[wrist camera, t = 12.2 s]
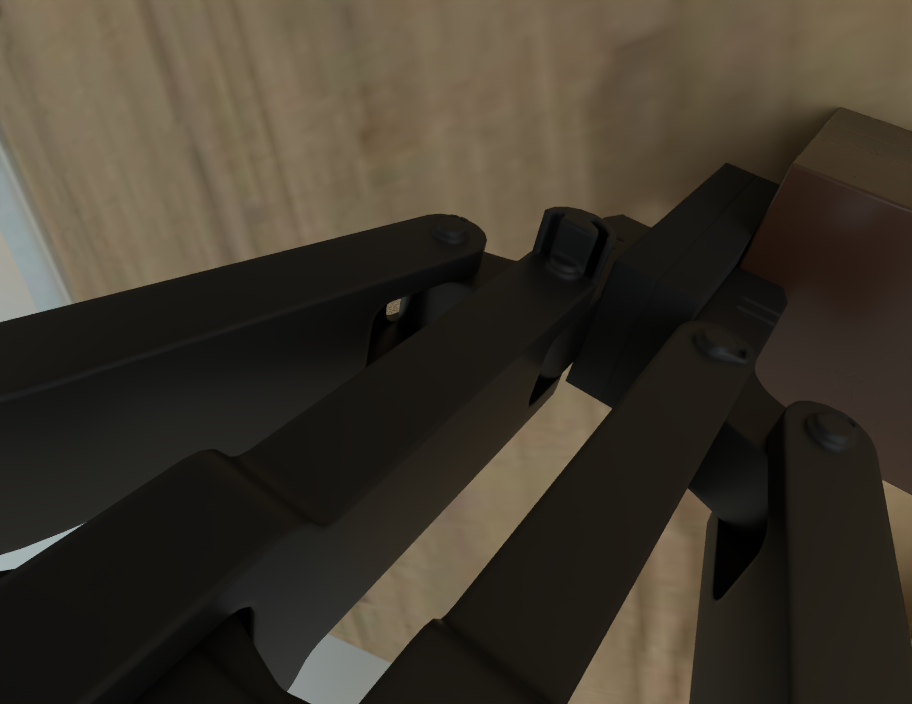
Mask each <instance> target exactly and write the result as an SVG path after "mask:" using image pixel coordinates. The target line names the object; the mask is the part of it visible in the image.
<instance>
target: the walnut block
mask: <svg viewBox="0 0 912 704" xmlns="http://www.w3.org/2000/svg"><path fill="white" fill-rule="evenodd" d="M738 267H739V268H741V269H744V270H746V271H748V272H750V273H752V274H754V275H756V276H758V277H761V278H763V279H765V280H767V281H769V282H771V283H773V284H775V285H777V286H780V287H782V288H783V289H784V292H785V295H786V299H787V302H788V304H787V306H786V308H785V310H784V312H783V313H782V315H781V317H780V319H779V321H778V322H777V324H776V326H775V328H774V330H773V331H772V333H771V335H770V337H769V339H768V340H767V342H766V344H765V346H764V348H763V349H762V351H761V353H760V355H759V357H758V358H757V360H756V364H755V371H756V375H757V377H758V379H759V381H760V383H761V384H762V386H763V387H764V388H765V389H766V390H767V392H768V393H769V394H771V395H772V396H773V397H774V398H775V399H776V400H777V401H778V402H780V403H781V404H782V405H784V406H785V407H786V408H787V406H788V405H790V404H792V403H794V402H796V401H814V402H817V403H821V404H825V405H828V406H830V407H832V408H834V409H836V410H839V411H841V412H843V413H845V414H846V415H848V416H849V417H850V418H852V419H853V420H854V421H856V422H857V423H858V424H859V425H860V426H861V427H862V428H863V429H864V431H865V432H866V433H867V434H868V435H869V436H870V437H871V439H872V441H873V444H874V446H875V448H876V450H877V456H878V461H879V467H880V472H881V478H882V480H884V481H886V482H888V483H890V484H892V485H894V486H895V487H897V488H899V489H901V490H903V491H905V492H907V493H909V494H911V495H912V132H911V131H908V130H905V129H902V128H899V127H896V126H894V125H891V124H888V123H885V122H882V121H879V120H876V119H873V118H871V117H868V116H865V115H862V114H859V113H856V112H853V111H850V110H847V109H845V108H839V109H838V110H837V111H836V112H835V114H834V115H833V116H832V117H831V118H830V119H829V121H828V122H827V123H826V124H825V125H824V126H823V128H822V129H821V130H820V131H819V132H818V134H817V135H816V136H815V137H814V138H813V139H812V141H811V142H810V143H809V144H808V145H807V146H806V148H805V149H804V150H803V151H802V152H801V154H800V155H799V156H798V157H797V158H796V159H795V161H794V162H793V163H792V164H791V165H790V167H789V169H788V171H787V173H786V175H785V177H784V179H783V181H782V183H781V185H780V187H779V188H778V190H777V192H776V194H775V196H774V198H773V200H772V202H771V204H770V206H769V208H768V210H767V211H766V213H765V215H764V217H763V219H762V221H761V223H760V225H759V227H758V229H757V231H756V233H755V235H754V236H753V238H752V240H751V242H750V244H749V246H748V248H747V250H746V252H745V254H744V256H743V258H742V260H741V261H740V263H739V265H738Z"/></svg>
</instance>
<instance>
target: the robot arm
mask: <svg viewBox="0 0 912 704" xmlns="http://www.w3.org/2000/svg"><path fill="white" fill-rule="evenodd" d="M779 187H780V185H779V184H776V183H774V182H772V181H769V180H767V179H764V178H762V177H760V176H757V175H755V174H753V173H750V172H748V171H745V170H743V169H741V168H738V167H736V166H733V165H731V164H729V163H726V164H725V165H723V166H722V167H721V168H720V169H719V170H718V171H716V172H715V173H714V174H713V175H712V176H711V177H710V178H708V179H707V180H706V181H705V182H704V183H703V184H702V185H700V186H699V187H698V188H697V189H696V190H695V191H694V192H692V193H691V194H690V195H689V196H688V197H687V198H686V199H684V200H683V201H682V202H681V203H680V204H679V205H677V206H676V207H675V208H674V209H673V210H672V211H671V212H669V213H668V214H667V215H666V216H665V217H664V218H663V219H661V220H660V221H659V222H658V223H657V224H656V225H655V226H653V227H652V228H650V227H648V226H646V225H644V224H642V223H640V222H638V221H635V220H633V219H631V218H629V217H627V216H625V215H623V214H622V215H617V216H611V217H605V218H603V219H601V218H600V217H598V216H596V215H595V214H592V213H589V212H587V211H584V210H581V209H576V208H571V207H553V208H550V209H547V210H545V212H544V215H543V218H542V222H541V225H540V228H539V231H538V234H537V238H536V241H535V244H534V247H533V250H532V251H531V252H530V253H529V254H527V255H526V256H524V257H523V258H521V259H520V260H519V261H514V260H510V259H506V258H503V257H499V256H496V255H493V254H490V253H487V252H484V250H485V246H486V242H487V239H486V236H485V233H484V232H483V231H482V230H481V229H480V228H479V227H478V226H477V225H476V224H474V223H472V222H470V221H468V220H467V219H465V218H463V217H459V216H457V215H452V214H451V215H446V214H432V215H426V216H422V217H418V218H414V219H410V220H406V221H402V222H398V223H394V224H390V225H386V226H382V227H378V228H374V229H370V230H366V231H362V232H358V233H354V234H350V235H346V236H342V237H338V238H334V239H330V240H326V241H322V242H318V243H314V244H310V245H306V246H302V247H298V248H294V249H290V250H286V251H282V252H278V253H274V254H270V255H266V256H262V257H258V258H254V259H250V260H246V261H242V262H238V263H234V264H230V265H226V266H222V267H219V268H215V269H211V270H207V271H203V272H199V273H195V274H191V275H187V276H183V277H179V278H175V279H171V280H167V281H163V282H159V283H155V284H151V285H147V286H143V287H139V288H135V289H131V290H127V291H123V292H119V293H115V294H111V295H107V296H103V297H99V298H95V299H91V300H87V301H83V302H79V303H75V304H71V305H67V306H63V307H59V308H55V309H51V310H47V311H43V312H39V313H35V314H31V315H28V316H24V317H20V318H15V319H11V320H8V321H3V322H0V555H2V554H5V553H8V552H12V551H15V550H18V549H21V548H24V547H26V546H29V545H32V544H34V543H37V542H39V541H42V540H44V539H47V538H50V537H52V536H55V535H57V534H60V533H62V532H65V531H67V530H69V529H72V528H74V527H76V526H78V525H80V524H83V523H84V524H83V525H81V526H80V527H78V528H77V529H76V530H74V531H72V532H71V533H69V534H68V535H66V536H65V537H63V538H62V539H60V540H59V541H57V542H55V543H54V544H52V545H51V546H49V547H48V548H46V549H45V550H43V551H42V552H40V553H39V554H37V555H36V556H34V557H33V558H31V559H30V560H28V561H27V562H25V563H24V564H22V565H20V566H19V567H17V568H16V569H11V570H5V571H0V704H310V703H308V702H306V701H304V700H302V699H300V698H298V697H296V696H293V695H291V694H290V693H288V692H287V691H288V689H289V688H290V686H291V685H292V683H293V682H294V680H295V678H296V677H297V675H298V673H299V671H300V669H301V667H302V666H303V664H304V662H305V660H306V659H307V657H308V656H309V654H310V653H311V652H312V650H313V649H314V648H315V647H316V645H317V644H318V643H319V642H320V641H321V640H322V639H323V638H324V637H325V636H326V635H327V633H328V632H329V631H330V630H331V629H332V628H333V627H334V626H335V625H336V624H337V623H338V622H339V621H340V620H341V619H342V618H343V616H344V615H345V614H346V613H347V612H348V611H349V610H350V609H351V608H352V607H353V606H354V605H355V604H356V603H357V602H358V601H359V600H360V598H361V597H362V596H363V595H364V594H365V593H366V592H367V591H368V590H369V589H370V588H371V587H372V586H373V585H374V584H375V583H376V581H377V580H378V579H379V578H380V577H381V576H382V575H383V574H384V573H385V572H386V571H387V570H388V569H389V568H390V567H391V566H392V565H393V563H394V562H395V561H396V560H397V559H398V558H399V557H400V556H401V555H402V554H403V553H404V552H405V551H406V550H407V549H408V548H409V546H410V545H411V544H412V543H413V542H414V541H415V540H416V539H417V538H418V537H419V536H420V535H421V534H422V533H423V532H424V531H425V529H426V528H427V527H428V526H429V525H430V524H431V523H432V522H433V521H434V520H435V519H436V518H437V517H438V516H439V515H440V514H441V513H442V511H443V510H444V509H445V508H446V507H447V506H448V505H449V504H450V503H451V502H452V501H453V500H454V499H455V498H456V497H457V496H458V494H459V493H460V492H461V491H462V490H463V489H464V488H465V487H466V486H467V485H468V484H469V483H470V482H471V481H472V480H473V479H474V477H475V476H476V475H477V474H478V473H479V472H480V471H481V470H482V469H483V468H484V467H485V466H486V465H487V464H488V463H489V462H490V461H491V459H492V458H493V457H494V456H495V455H496V454H497V453H498V452H499V451H500V450H501V449H502V448H503V447H504V446H505V445H506V444H507V442H508V441H509V440H510V439H511V438H512V437H513V436H514V435H515V434H516V433H517V432H518V431H519V430H520V429H521V428H522V427H523V425H524V424H525V423H526V422H527V421H528V420H529V419H530V418H531V417H532V416H533V415H534V414H535V413H536V412H537V411H538V410H539V409H540V407H541V406H542V405H543V404H544V403H545V402H546V401H547V400H548V399H549V398H550V397H551V396H552V395H553V393H554V391H555V389H556V387H557V385H558V382H559V380H560V377H561V375H562V373H563V372H564V371H565V370H566V369H567V368H568V367H569V365H570V364H571V363H572V362H573V361H574V362H573V364H572V366H571V369H570V371H569V374H568V376H567V379H566V381H567V382H568V383H570V384H572V385H573V386H575V387H577V388H579V389H580V390H582V391H584V392H585V393H587V394H589V395H591V396H592V397H594V398H596V399H597V400H599V401H601V402H602V403H604V404H606V405H608V406H609V407H611V408H613V409H612V410H611V411H610V412H609V414H608V415H607V416H606V417H605V419H604V420H603V421H602V422H601V424H600V425H599V426H598V427H597V429H596V430H595V431H594V432H593V434H592V435H591V436H590V437H589V439H588V440H587V441H586V442H585V443H584V445H583V446H582V447H581V448H580V450H579V451H578V452H577V453H576V455H575V456H574V457H573V458H572V460H571V461H570V462H569V463H568V465H567V466H566V467H565V468H564V470H563V471H562V472H561V473H560V475H559V476H558V477H557V478H556V479H555V481H554V482H553V483H552V484H551V486H550V487H549V488H548V489H547V491H546V492H545V493H544V494H543V496H542V497H541V498H540V499H539V501H538V502H537V503H536V504H535V506H534V507H533V508H532V509H531V511H530V512H529V513H528V514H527V516H526V517H525V518H524V519H523V520H522V522H521V523H520V524H519V525H518V527H517V528H516V529H515V530H514V532H513V533H512V534H511V535H510V537H509V538H508V539H507V540H506V542H505V543H504V544H503V545H502V547H501V548H500V549H499V550H498V552H497V553H496V554H495V555H494V557H493V558H492V559H491V560H490V561H489V563H488V564H487V565H486V566H485V568H484V569H483V570H482V571H481V573H480V574H479V575H478V576H477V578H476V579H475V580H474V581H473V583H472V584H471V585H470V586H469V588H468V589H467V590H466V591H465V593H464V594H463V595H462V596H461V597H460V599H459V600H458V601H457V602H456V604H455V605H454V606H453V607H452V608H451V610H450V611H449V612H448V613H447V614H446V615H445V616H444V617H443V618H441V619H432V620H431V621H430V622H429V623H427V624H426V625H425V626H424V627H423V628H422V629H421V630H420V631H419V632H418V633H417V635H416V636H415V637H414V638H413V639H412V640H411V641H410V642H409V644H408V645H407V646H406V647H405V648H404V650H403V651H402V652H401V653H400V654H399V656H398V657H397V658H396V659H395V661H394V662H393V663H392V664H391V665H390V667H389V668H388V669H387V670H386V671H385V673H384V674H383V675H382V676H381V678H380V679H379V680H378V681H377V682H376V684H375V685H374V686H373V687H372V688H371V690H370V691H369V692H368V693H367V695H366V696H365V697H364V698H363V699H362V700H361V702H360V703H359V704H567V703H568V701H569V700H570V698H571V696H572V694H573V692H574V691H575V689H576V687H577V685H578V683H579V682H580V680H581V678H582V676H583V674H584V673H585V671H586V669H587V667H588V665H589V664H590V662H591V660H592V658H593V656H594V655H595V653H596V651H597V649H598V647H599V646H600V644H601V642H602V640H603V638H604V637H605V635H606V633H607V631H608V630H609V628H610V626H611V624H612V622H613V621H614V619H615V617H616V615H617V613H618V612H619V610H620V608H621V606H622V604H623V603H624V601H625V599H626V597H627V595H628V594H629V592H630V590H631V588H632V586H633V585H634V583H635V581H636V579H637V577H638V576H639V574H640V572H641V570H642V568H643V567H644V565H645V563H646V561H647V560H648V558H649V556H650V554H651V552H652V551H653V549H654V547H655V545H656V543H657V542H658V540H659V538H660V536H661V534H662V533H663V531H664V529H665V527H666V525H667V524H668V522H669V520H670V518H671V516H672V515H673V513H674V511H675V509H676V507H677V506H678V504H679V502H680V500H681V498H682V497H683V495H684V493H685V491H686V490H687V488H688V489H689V490H690V491H691V492H693V493H694V494H695V495H696V496H697V497H698V498H699V499H700V500H701V501H702V502H703V503H704V504H705V505H706V506H707V507H708V508H709V509H710V510H711V511H712V513H711V515H710V517H709V520H708V522H707V529H706V539H705V549H704V560H703V570H702V580H701V590H700V600H699V610H698V620H697V630H696V640H695V651H694V661H693V671H692V681H691V691H690V701H689V704H912V644H911V638H910V633H909V627H908V622H907V616H906V611H905V605H904V600H903V594H902V589H901V583H900V578H899V572H898V566H897V561H896V555H895V550H894V544H893V539H892V533H891V528H890V522H889V517H888V511H887V505H886V500H885V494H884V489H883V483H882V478H881V472H880V467H879V461H878V456H877V450H876V448H875V446H874V444H873V441H872V439H871V437H870V436H869V435H868V434H867V433H866V432H865V431H864V429H863V428H862V427H861V426H860V425H859V424H858V423H857V422H856V421H854V420H853V419H852V418H850V417H849V416H848V415H846V414H845V413H843V412H841V411H839V410H836V409H834V408H832V407H830V406H828V405H825V404H821V403H817V402H814V401H796V402H794V403H792V404H790V405H788V406H787V408H786V407H785V406H784V405H782V404H781V403H780V402H778V401H777V400H776V399H775V398H774V397H773V396H772V395H771V394H769V393H768V392H767V390H766V389H765V388H764V387H763V386H762V384H761V383H760V381H759V379H758V377H757V375H756V371H755V364H756V360H757V358H758V357H759V355H760V353H761V351H762V349H763V348H764V346H765V344H766V342H767V340H768V339H769V337H770V335H771V333H772V331H773V330H774V328H775V326H776V324H777V322H778V321H779V319H780V317H781V315H782V313H783V312H784V310H785V308H786V306H787V304H788V302H787V299H786V295H785V292H784V289H783V288H782V287H780V286H777V285H775V284H773V283H771V282H769V281H767V280H765V279H763V278H761V277H758V276H756V275H754V274H752V273H750V272H748V271H746V270H744V269H741V268H739V267H738V265H739V263H740V261H741V260H742V258H743V256H744V254H745V252H746V250H747V248H748V246H749V244H750V242H751V240H752V238H753V236H754V235H755V233H756V231H757V229H758V227H759V225H760V223H761V221H762V219H763V217H764V215H765V213H766V211H767V210H768V208H769V206H770V204H771V202H772V200H773V198H774V196H775V194H776V192H777V190H778V188H779ZM400 298H401V303H400V308H399V312H397V313H395V314H392V315H386V308H387V304H388V303H390V302H392V301H394V300H397V299H400ZM85 522H86V523H85Z"/></svg>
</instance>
